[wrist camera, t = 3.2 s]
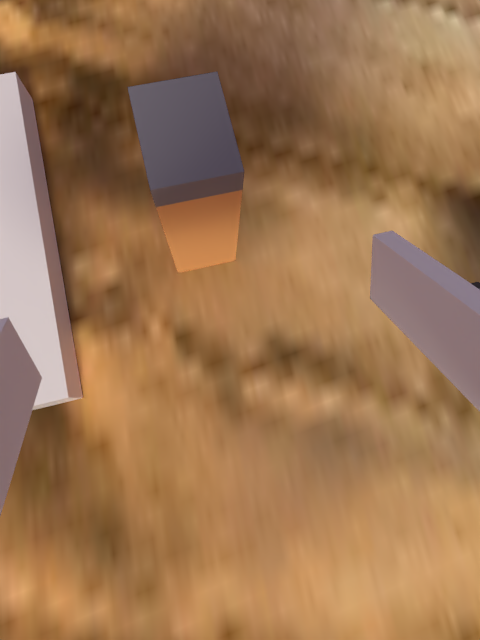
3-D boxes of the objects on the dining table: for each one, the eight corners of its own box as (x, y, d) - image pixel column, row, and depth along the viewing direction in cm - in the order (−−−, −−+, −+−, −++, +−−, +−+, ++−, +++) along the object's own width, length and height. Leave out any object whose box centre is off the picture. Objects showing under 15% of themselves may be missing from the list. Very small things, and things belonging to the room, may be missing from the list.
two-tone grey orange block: (162, 206, 28) (127, 87, 18) (218, 195, 29) (217, 71, 18) (178, 272, 28) (150, 190, 17) (235, 260, 28) (244, 171, 17)
